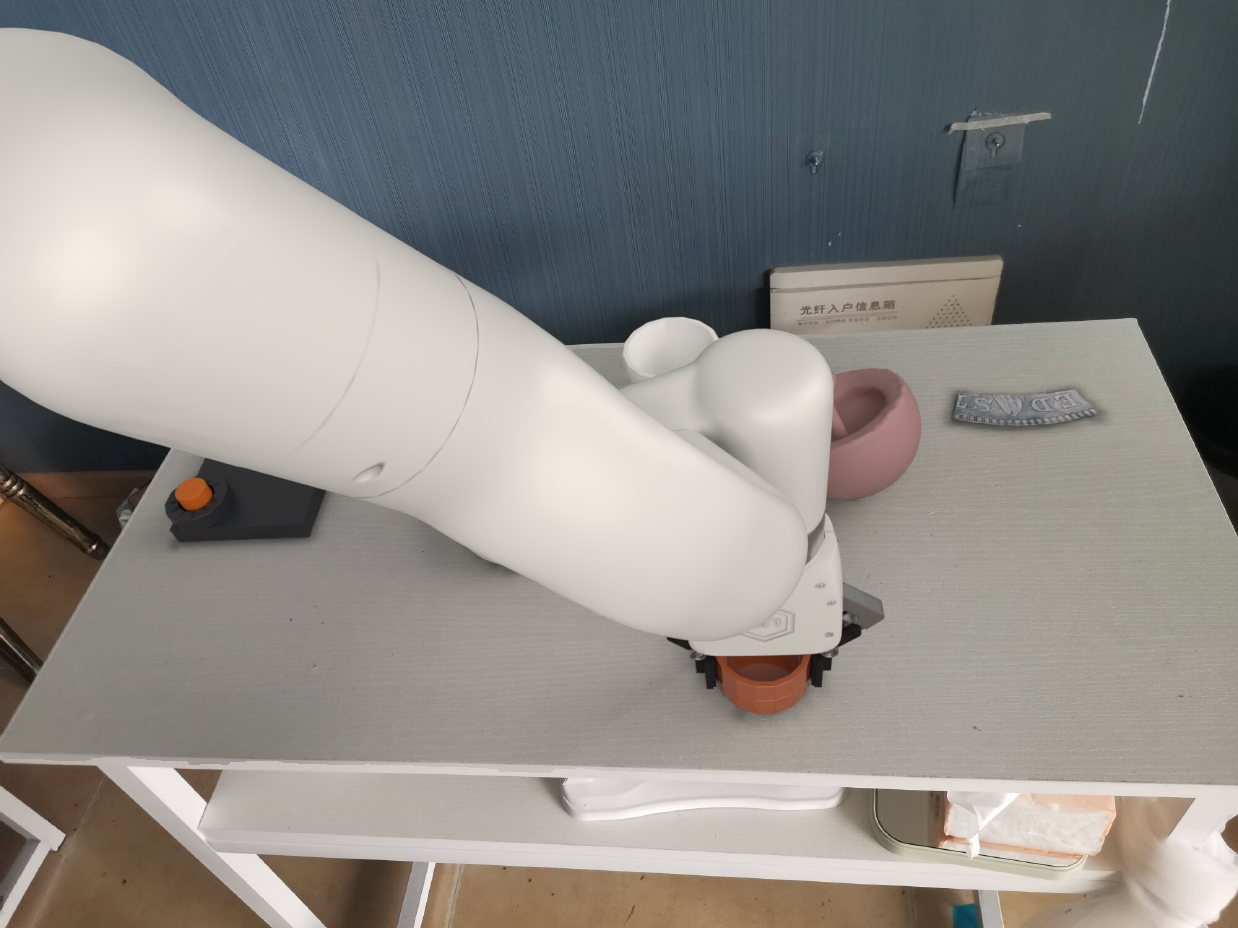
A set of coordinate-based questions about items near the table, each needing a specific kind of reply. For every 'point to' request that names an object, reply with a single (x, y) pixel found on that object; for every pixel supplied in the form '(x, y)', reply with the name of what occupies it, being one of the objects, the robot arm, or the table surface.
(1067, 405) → the coin fragment
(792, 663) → the flower pot
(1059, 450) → the table surface
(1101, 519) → the table surface
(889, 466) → the mortar and pestle
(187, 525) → the scale
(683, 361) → the cup
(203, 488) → the button
